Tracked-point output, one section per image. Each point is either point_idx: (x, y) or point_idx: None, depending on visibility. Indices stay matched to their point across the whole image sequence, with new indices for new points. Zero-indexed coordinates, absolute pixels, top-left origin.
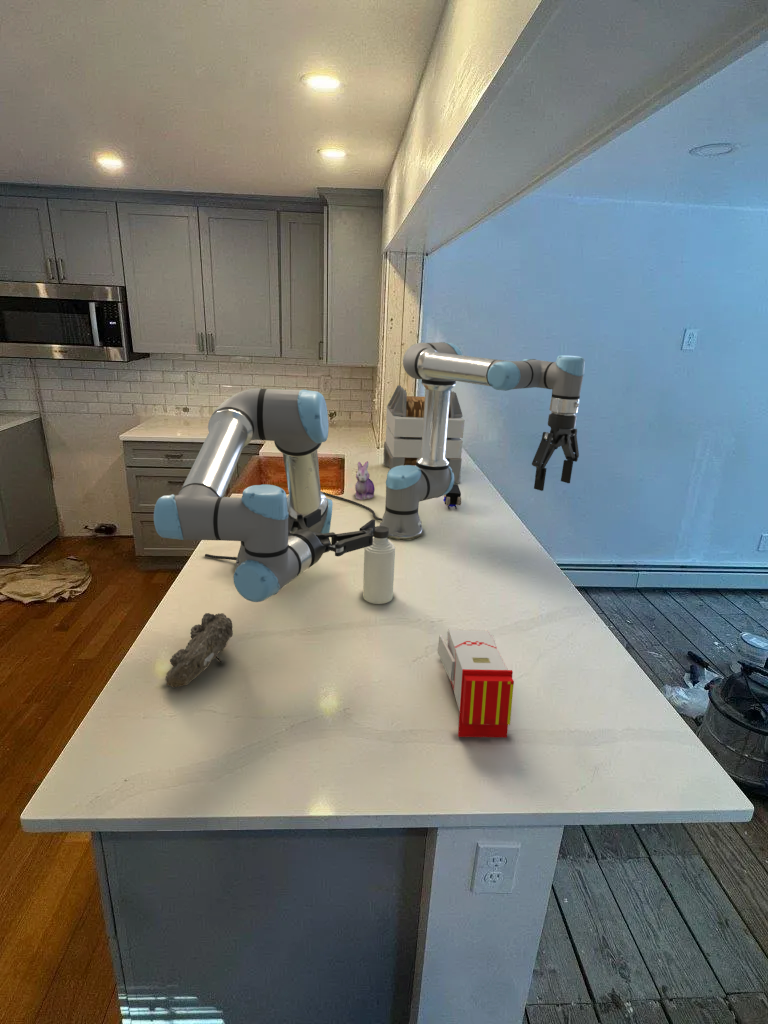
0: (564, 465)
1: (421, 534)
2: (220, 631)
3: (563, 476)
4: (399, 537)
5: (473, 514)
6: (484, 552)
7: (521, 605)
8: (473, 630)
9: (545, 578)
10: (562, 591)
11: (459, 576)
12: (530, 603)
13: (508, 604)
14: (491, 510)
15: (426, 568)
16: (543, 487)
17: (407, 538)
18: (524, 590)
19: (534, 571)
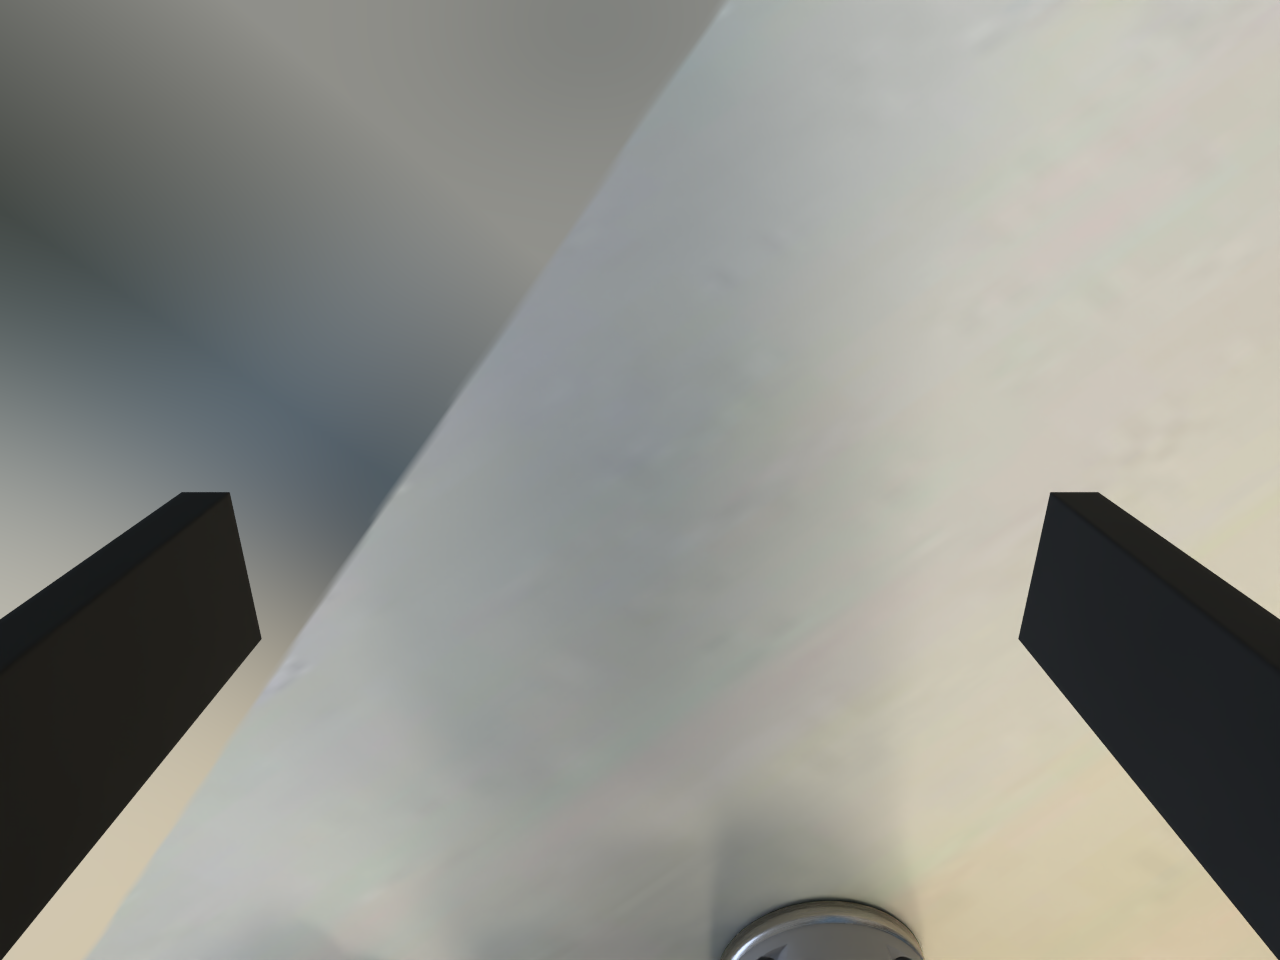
0: (38, 865)
1: (768, 914)
2: None
3: (202, 660)
4: (906, 935)
5: (321, 949)
6: (675, 638)
7: (1116, 90)
8: None
9: (679, 224)
10: (754, 37)
11: (1035, 528)
12: (1054, 70)
13: (1156, 150)
14: (184, 939)
15: None
16: (1096, 516)
17: (874, 914)
18: (925, 204)
19: (651, 326)
